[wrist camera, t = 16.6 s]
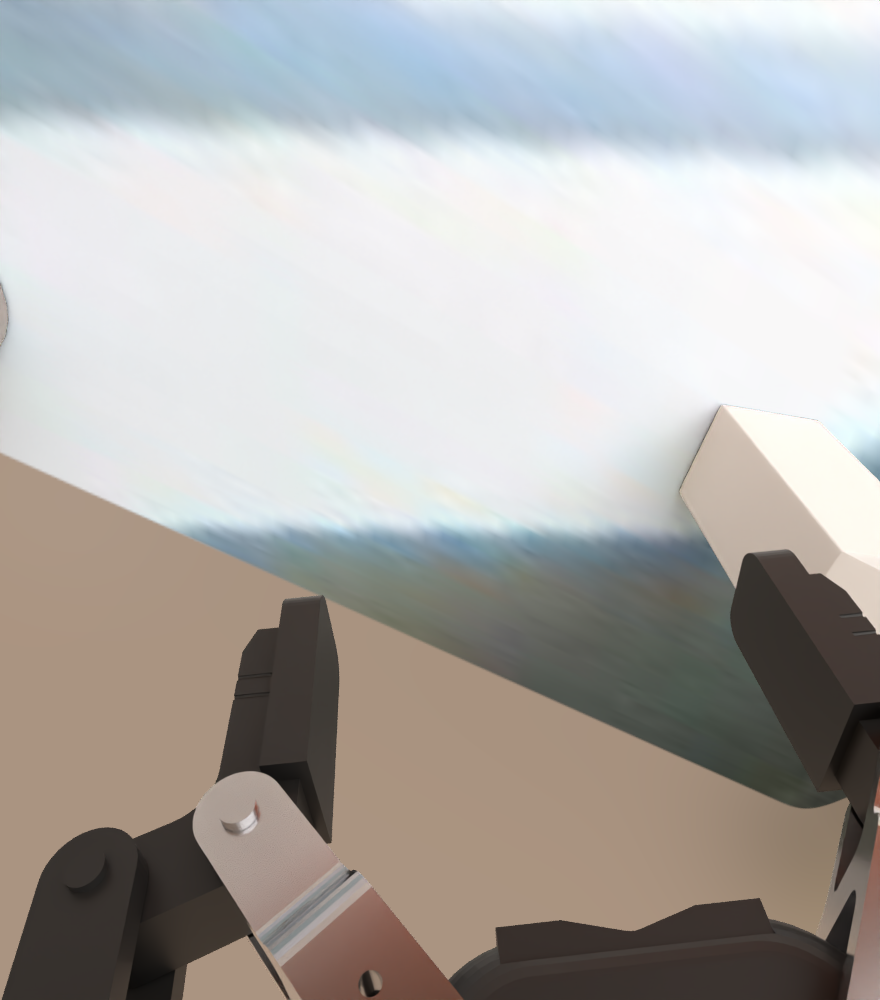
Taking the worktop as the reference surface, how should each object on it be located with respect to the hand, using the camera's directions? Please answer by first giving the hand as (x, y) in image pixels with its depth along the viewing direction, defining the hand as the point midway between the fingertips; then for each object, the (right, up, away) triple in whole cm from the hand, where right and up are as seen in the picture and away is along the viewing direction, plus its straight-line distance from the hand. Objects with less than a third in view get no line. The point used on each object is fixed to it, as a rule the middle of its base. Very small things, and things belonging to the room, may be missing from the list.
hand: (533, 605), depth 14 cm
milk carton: (+19, +5, +35) cm, 41 cm away
